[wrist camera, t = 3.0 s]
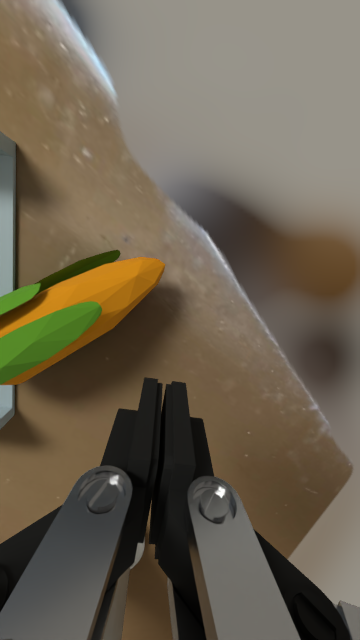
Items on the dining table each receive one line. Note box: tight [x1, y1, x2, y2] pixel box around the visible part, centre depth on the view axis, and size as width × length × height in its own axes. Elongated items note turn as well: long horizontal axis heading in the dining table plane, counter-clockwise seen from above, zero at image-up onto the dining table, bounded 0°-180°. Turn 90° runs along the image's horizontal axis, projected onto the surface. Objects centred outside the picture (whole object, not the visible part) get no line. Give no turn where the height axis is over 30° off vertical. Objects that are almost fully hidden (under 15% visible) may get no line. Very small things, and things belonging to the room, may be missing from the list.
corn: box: [0, 250, 165, 385], centre depth 21 cm, size 7×8×20 cm
